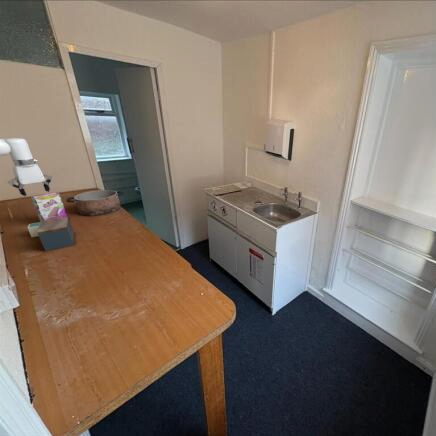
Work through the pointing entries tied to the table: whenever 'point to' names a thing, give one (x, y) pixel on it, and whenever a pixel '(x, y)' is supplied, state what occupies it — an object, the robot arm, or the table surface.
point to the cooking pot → (97, 202)
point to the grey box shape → (56, 233)
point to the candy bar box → (49, 206)
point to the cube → (34, 229)
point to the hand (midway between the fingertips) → (36, 193)
